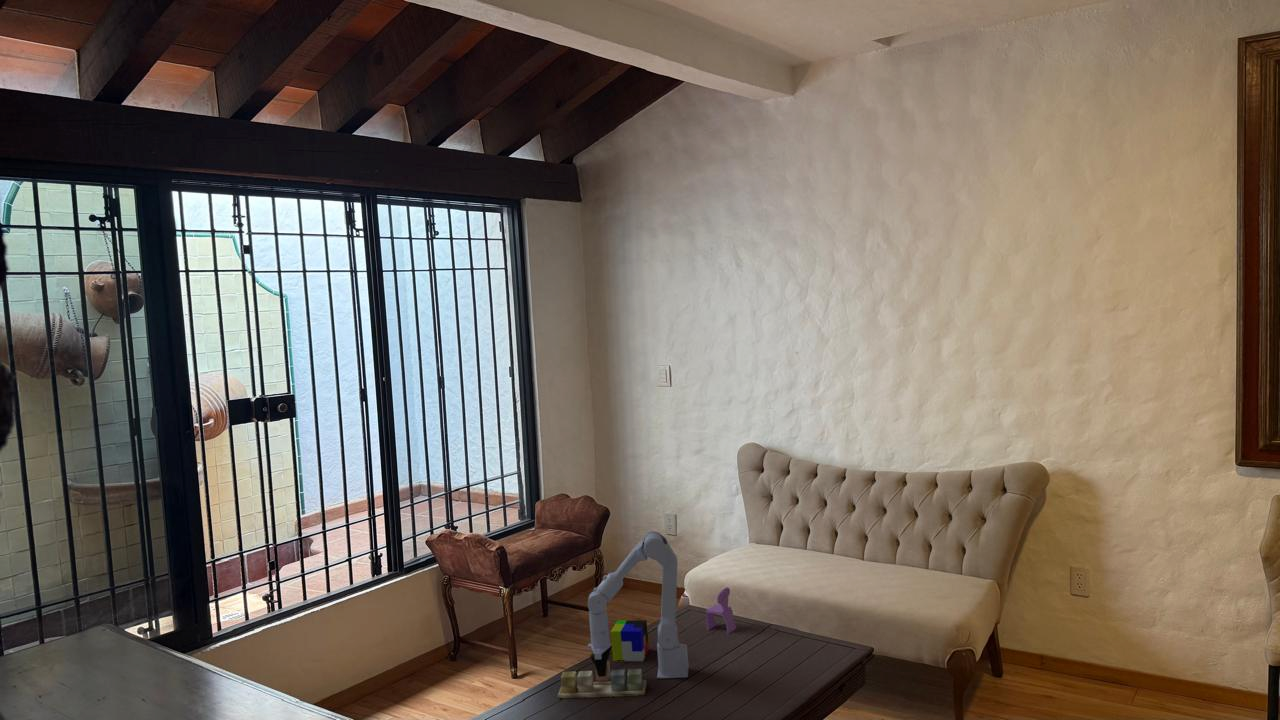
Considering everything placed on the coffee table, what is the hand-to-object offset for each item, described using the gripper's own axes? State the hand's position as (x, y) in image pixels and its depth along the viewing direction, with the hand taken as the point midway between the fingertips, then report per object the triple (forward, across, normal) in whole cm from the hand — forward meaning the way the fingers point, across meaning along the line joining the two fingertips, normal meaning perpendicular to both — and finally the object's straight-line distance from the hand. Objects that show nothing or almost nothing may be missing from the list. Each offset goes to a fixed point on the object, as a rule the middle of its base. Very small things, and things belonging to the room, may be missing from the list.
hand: (603, 673), depth 276 cm
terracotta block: (+2, 0, 0) cm, 2 cm away
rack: (+2, +10, +1) cm, 10 cm away
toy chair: (+2, -38, +37) cm, 53 cm away
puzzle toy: (+2, -18, +7) cm, 19 cm away
